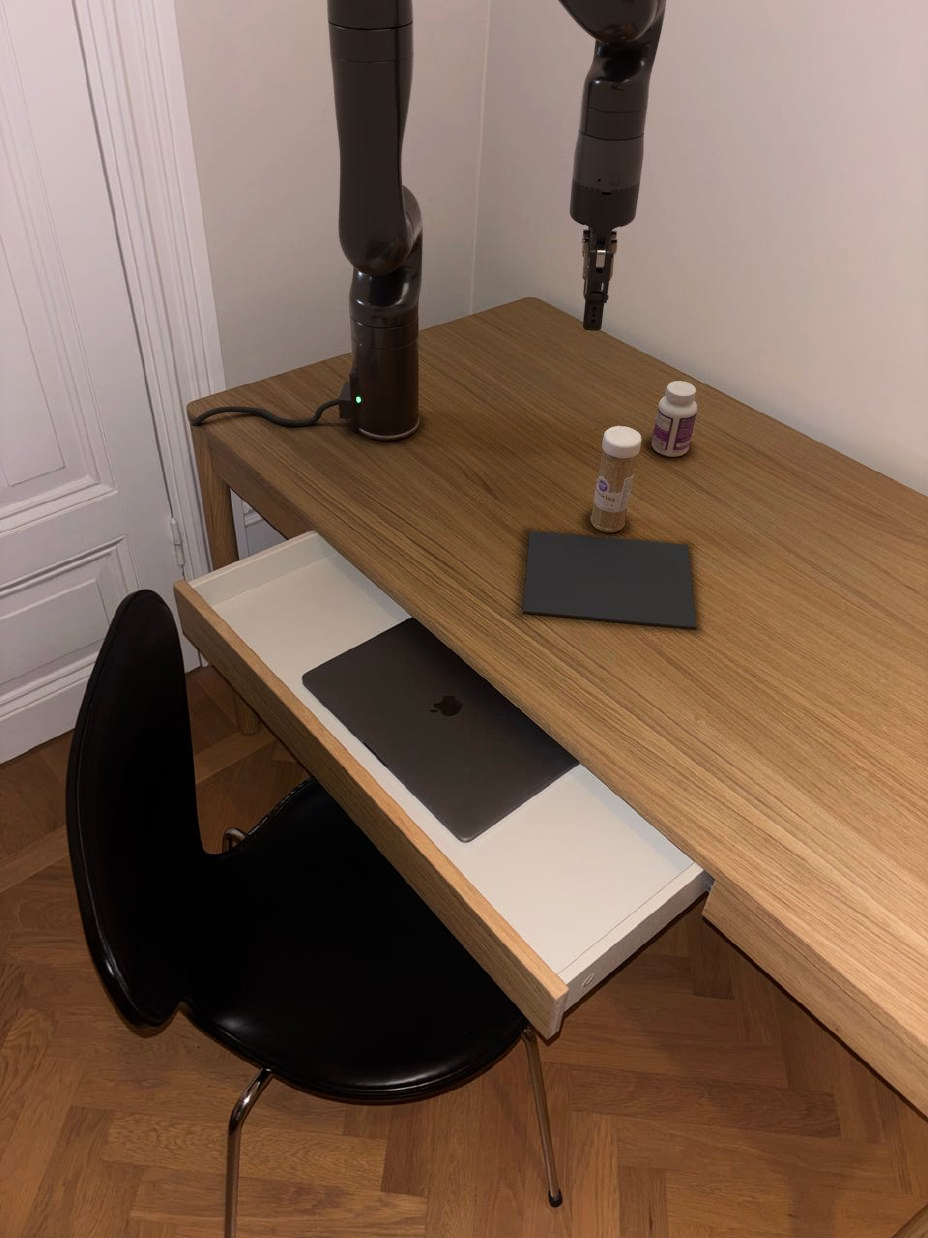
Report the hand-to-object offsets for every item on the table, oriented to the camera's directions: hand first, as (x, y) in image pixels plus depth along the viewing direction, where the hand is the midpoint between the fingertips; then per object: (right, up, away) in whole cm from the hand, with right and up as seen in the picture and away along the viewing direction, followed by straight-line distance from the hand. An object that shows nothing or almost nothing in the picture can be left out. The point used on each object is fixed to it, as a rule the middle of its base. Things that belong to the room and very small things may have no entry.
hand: (591, 312), depth 116 cm
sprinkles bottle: (+3, -25, +7) cm, 26 cm away
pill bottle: (+14, -13, +20) cm, 28 cm away
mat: (+2, -33, -1) cm, 33 cm away
